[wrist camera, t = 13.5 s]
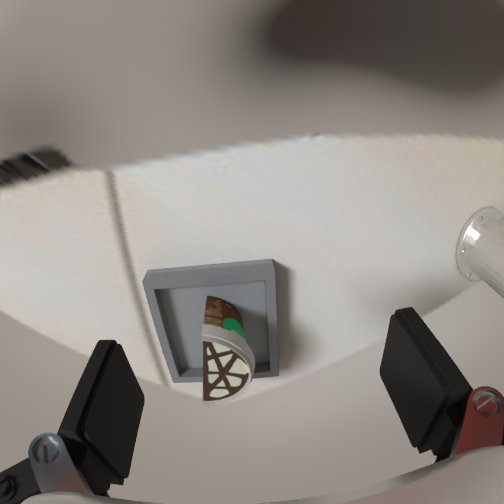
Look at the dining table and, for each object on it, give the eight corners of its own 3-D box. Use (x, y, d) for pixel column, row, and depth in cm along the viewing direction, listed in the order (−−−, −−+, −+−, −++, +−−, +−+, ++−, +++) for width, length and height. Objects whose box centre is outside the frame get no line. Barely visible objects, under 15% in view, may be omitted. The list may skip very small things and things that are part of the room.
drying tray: (272, 258, 40) (274, 270, 37) (276, 362, 47) (278, 375, 44) (147, 270, 39) (142, 281, 37) (175, 369, 47) (173, 382, 44)
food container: (247, 358, 45) (250, 410, 36) (205, 356, 45) (201, 409, 36) (255, 288, 40) (262, 339, 31) (207, 285, 40) (201, 336, 31)
